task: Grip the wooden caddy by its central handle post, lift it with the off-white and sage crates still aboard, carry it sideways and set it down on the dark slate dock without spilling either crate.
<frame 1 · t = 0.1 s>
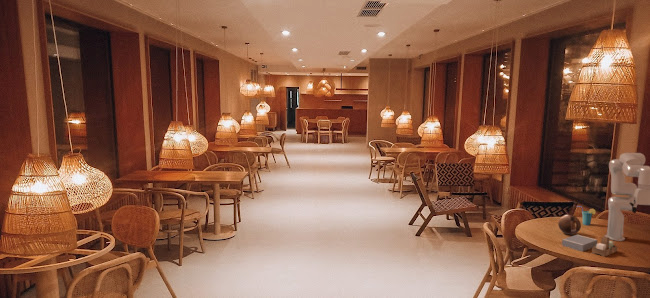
hand: (642, 213, 268), 31 cm above the table, tool pointing down, fingers open, 9 cm apart
cup: (585, 224, 350), on the table
crate sage: (608, 247, 288), point 3 cm above the table, touching wooden caddy
crate white: (600, 250, 283), point 3 cm above the table, touching wooden caddy
wooden caddy: (604, 252, 286), on the table, touching crate sage, crate white
wooden sphere: (568, 234, 325), on the table
dock: (579, 245, 299), on the table
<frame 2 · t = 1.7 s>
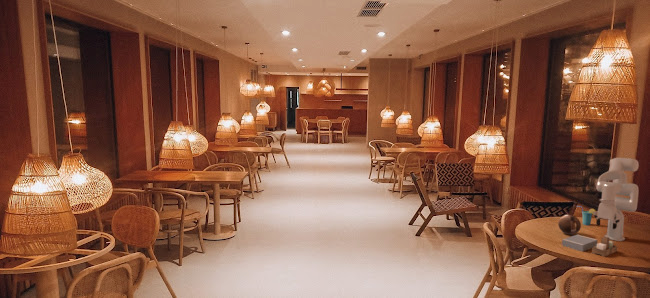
hand: (606, 226, 283), 18 cm above the table, tool pointing down, fingers open, 9 cm apart
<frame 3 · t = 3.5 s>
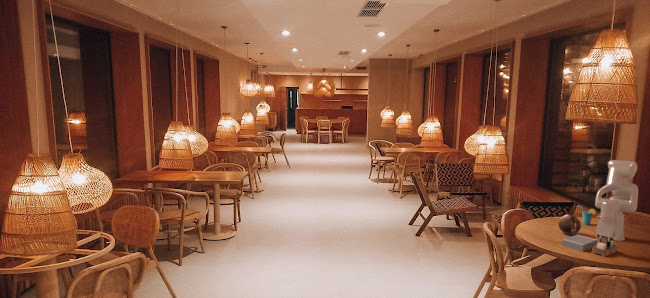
hand: (604, 245, 285), 5 cm above the table, tool pointing down, fingers closed on wooden caddy, 3 cm apart
wooden caddy: (604, 252, 286), on the table, touching crate sage, crate white, gripper
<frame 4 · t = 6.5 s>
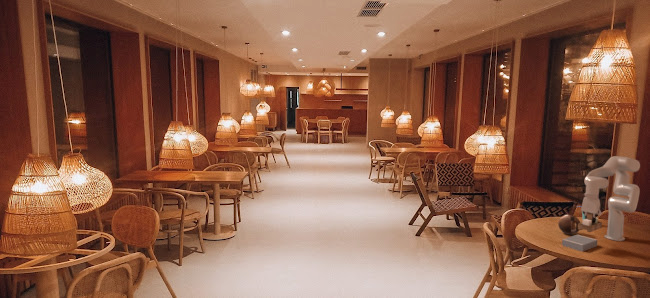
hand: (590, 221, 292), 19 cm above the table, tool pointing down, fingers closed on wooden caddy, 3 cm apart
crate sage: (593, 223, 295), point 17 cm above the table, touching wooden caddy
crate white: (586, 225, 290), point 17 cm above the table, touching wooden caddy
wooden caddy: (589, 228, 293), point 14 cm above the table, touching crate sage, crate white, gripper
everything else where it was.
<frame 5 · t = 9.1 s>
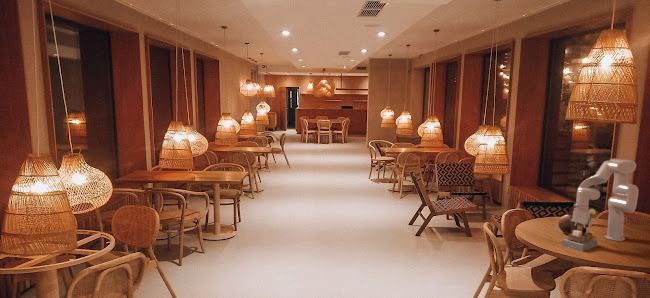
hand: (580, 231, 298), 10 cm above the table, tool pointing down, fingers open, 4 cm apart
crate sage: (583, 234, 301), point 7 cm above the table, touching wooden caddy
crate white: (576, 236, 296), point 7 cm above the table, touching wooden caddy
wooden caddy: (580, 239, 299), point 4 cm above the table, touching crate sage, crate white, dock
everything else where it was.
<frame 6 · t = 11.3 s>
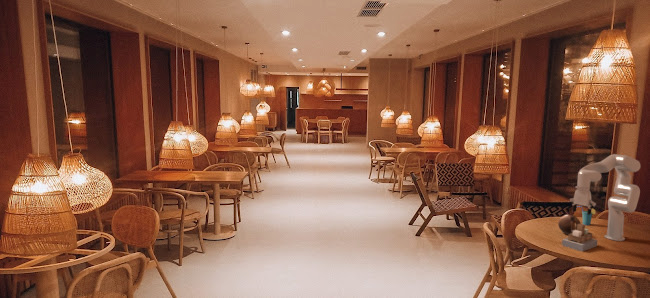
hand: (581, 212, 296), 24 cm above the table, tool pointing down, fingers open, 9 cm apart
nothing on the table moved.
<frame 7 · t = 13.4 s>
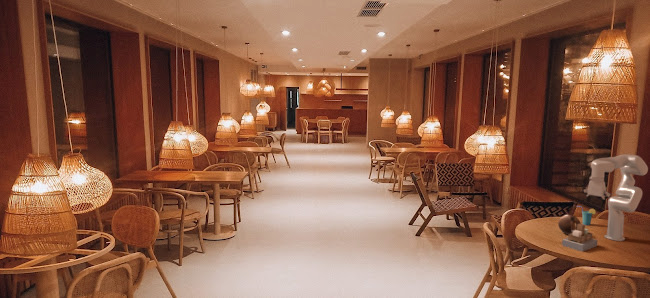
hand: (595, 203, 298), 30 cm above the table, tool pointing down, fingers open, 9 cm apart
nothing on the table moved.
at the end: wooden caddy 0.3 cm off-centre on the dock, point 4.5 cm above the dock's base; crate white point 7.5 cm above the table; crate sage point 7.5 cm above the table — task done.
